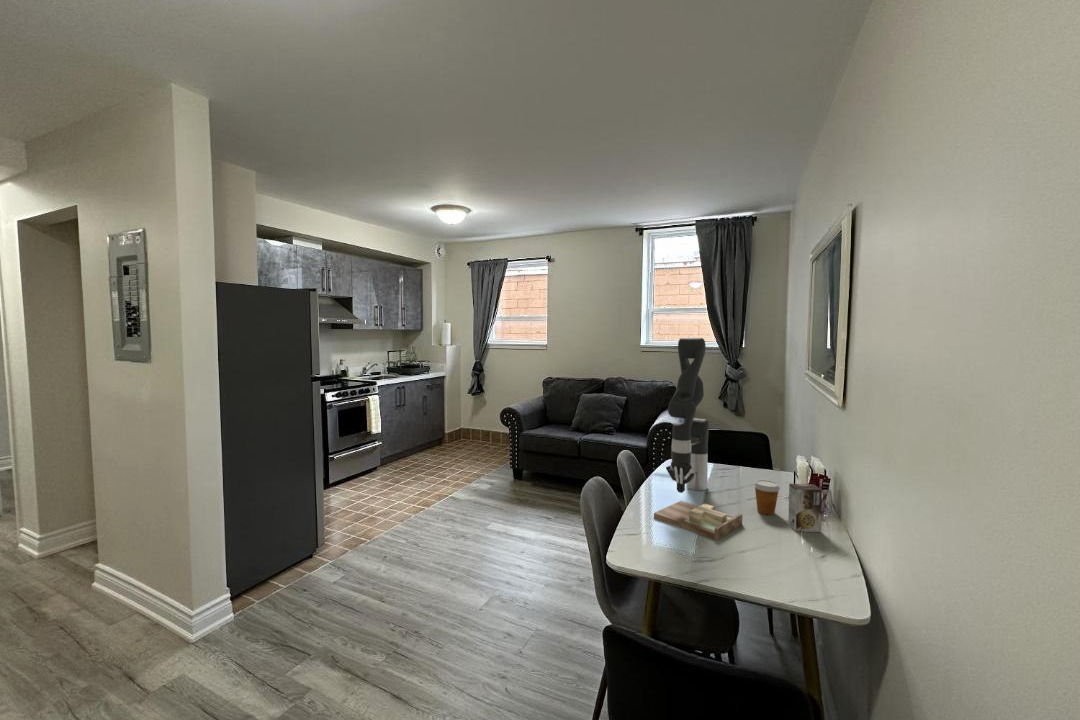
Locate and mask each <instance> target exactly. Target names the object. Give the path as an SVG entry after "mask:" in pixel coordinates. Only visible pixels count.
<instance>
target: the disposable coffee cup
mask: <svg viewBox="0 0 1080 720" xmlns="http://www.w3.org/2000/svg"><path fill="white" fill-rule="evenodd" d="M753 486H754V489H755V490H754V491H755V500H756V508H757V509H756V510H757V511H756V512H758V513H760V514H763V515H766V514H768V516H773V515H775V514H774V513H776V509H777V507H776V506H777V502H778V497H779V491H780V485H779V483H777V482H775V481H773V480H767V479H758V480H755V481H754V483H753ZM772 514H773V515H772Z"/></svg>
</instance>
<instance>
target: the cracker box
mask: <svg viewBox="0 0 1080 720" xmlns="http://www.w3.org/2000/svg"><path fill="white" fill-rule="evenodd" d="M822 493H823V489H821V488H819V486H817V485H816V484H814V483H812V484H811V483H789V486H788V518H787V519H788V520H787V521H788V526H789V527H790V528H792V529H793V530H794V531H795V532H800V531H801V532H803V531H804V533H805V532H806V533H807V532H808V533H822V501H823V500H822V497H823V496H822V495H823V494H822Z"/></svg>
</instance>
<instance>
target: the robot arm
mask: <svg viewBox="0 0 1080 720" xmlns="http://www.w3.org/2000/svg"><path fill="white" fill-rule="evenodd" d="M706 348H707V347H706V341H705V339H704V338H703V337H692V336H691V337H689V336H688V337H687V336H686V337H680V338H679V340H678V342H677V353H678V359H679V365H680V372H681V373H680V375H679V377H678V380H677V384H676V390H675V392H674V394H673V396H672V398H671V399H670V400H669V403H668V405H667V413H668V415H669V417H672V418H675V419H683V422H679V423H674V424H673V425H672V429H671V430H672V433H671V435H672V436H671V437H672V439H671V462H670V465H668V466H666V467H665V469H666V471H667V473H668V474H669V477H670V479H671V480H672V481H675V483H676V491H677V493H680V494H682V493H684V492H685V490H686V488H687V489H688V490H691V491H699V492H700V491H707V489H708V472H709V471H708V453H709V451H708V450H709V448H708V447H709V433H710V432H709V431H710V422H709V421H708V419H706V418H697V417H695V416H696V413H697V407H698V406H699V404H700V403H701V402H702V401H703V399H704V382H703V380H702V379H701V377H700V376H699V372H700V370H701V367H702V365H703V361H704V358H705V354H706ZM690 359H693V360H692V362H691V363H690V361H689V360H690ZM692 438H695V439H700V440H699V441H698V442H697V441H696V442H694V443H692V440H691V439H692Z"/></svg>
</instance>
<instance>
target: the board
mask: <svg viewBox="0 0 1080 720" xmlns="http://www.w3.org/2000/svg"><path fill="white" fill-rule="evenodd" d="M699 506H700V505H696V504H693V503H689V502H686V501H683V500H679V501H677V502H675V503H673V504H671V505H668V506H666V507H664V508H662V509H660V510H657V511H655V512H653V518H654V519H657V520H659V521H662V522H665V523H668V524H670V525H674V526H675V527H679V528H681V529H684V530H686V531H687V530H688V531H690V532H693V533H695V534H699V535H701V536H704V537H708V538H710V539H713V540H715V541H718V540H719V539H721V538H723V537H725V536H726V535H727V534H729V533H731V532H733V531H734V530H735V529H737V528H739V527H740V526H742V525H743V513H738V514H737V515H735V516H732V515H729V514H727V521H726V522H724V523H723V524H721V525H716V524H713V523H710V522H707V521H702V522H701V523H696V522H693V521H690V520H689V511H690V510H692V509H695V508H697V507H699Z"/></svg>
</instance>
